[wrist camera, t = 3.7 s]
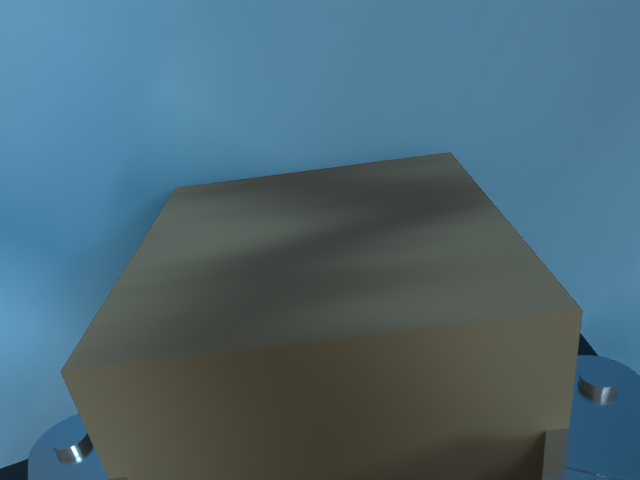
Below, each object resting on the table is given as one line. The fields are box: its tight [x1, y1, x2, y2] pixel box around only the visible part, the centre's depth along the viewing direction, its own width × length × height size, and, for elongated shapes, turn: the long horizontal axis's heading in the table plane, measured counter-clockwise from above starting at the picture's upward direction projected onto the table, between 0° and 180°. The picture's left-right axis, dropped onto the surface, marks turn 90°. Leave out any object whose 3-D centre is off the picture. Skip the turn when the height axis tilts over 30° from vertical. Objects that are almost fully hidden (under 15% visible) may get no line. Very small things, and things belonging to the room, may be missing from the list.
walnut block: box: [61, 153, 583, 480], centre depth 10 cm, size 6×6×6 cm
